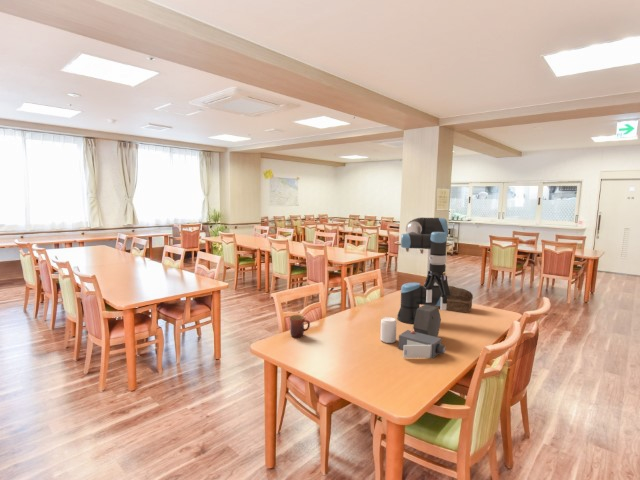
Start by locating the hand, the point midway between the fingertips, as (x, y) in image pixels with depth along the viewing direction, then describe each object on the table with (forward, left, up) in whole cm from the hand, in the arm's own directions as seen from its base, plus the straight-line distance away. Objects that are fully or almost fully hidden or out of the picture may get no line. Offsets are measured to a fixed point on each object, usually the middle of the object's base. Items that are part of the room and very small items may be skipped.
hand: (435, 306), depth 177 cm
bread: (-20, +79, -23) cm, 84 cm away
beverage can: (-24, -4, -23) cm, 33 cm away
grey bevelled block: (-9, +12, -23) cm, 28 cm away
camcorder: (-4, -5, -23) cm, 24 cm away
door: (-2, -15, -22) cm, 27 cm away
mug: (-65, -29, -23) cm, 74 cm away
